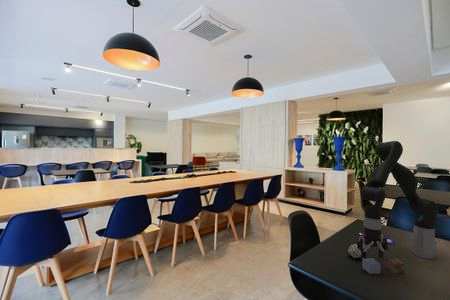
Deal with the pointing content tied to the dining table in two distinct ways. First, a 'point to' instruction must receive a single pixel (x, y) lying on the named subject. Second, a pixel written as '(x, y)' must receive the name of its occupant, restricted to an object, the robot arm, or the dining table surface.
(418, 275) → the dining table surface
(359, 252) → the game die
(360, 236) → the building block set
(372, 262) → the blue block
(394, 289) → the dining table surface
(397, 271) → the walnut block
